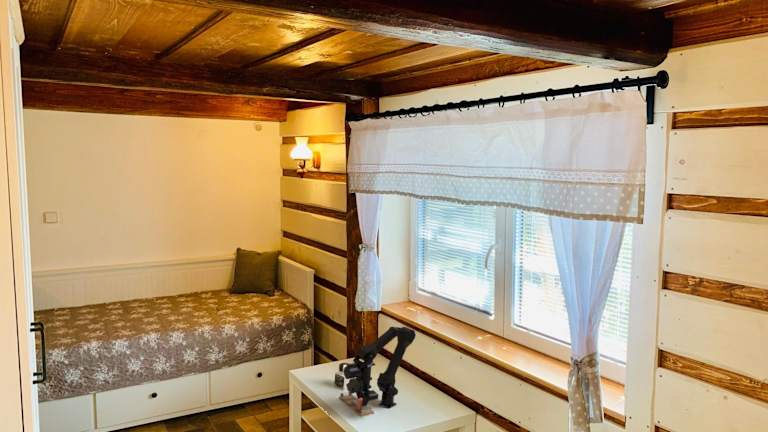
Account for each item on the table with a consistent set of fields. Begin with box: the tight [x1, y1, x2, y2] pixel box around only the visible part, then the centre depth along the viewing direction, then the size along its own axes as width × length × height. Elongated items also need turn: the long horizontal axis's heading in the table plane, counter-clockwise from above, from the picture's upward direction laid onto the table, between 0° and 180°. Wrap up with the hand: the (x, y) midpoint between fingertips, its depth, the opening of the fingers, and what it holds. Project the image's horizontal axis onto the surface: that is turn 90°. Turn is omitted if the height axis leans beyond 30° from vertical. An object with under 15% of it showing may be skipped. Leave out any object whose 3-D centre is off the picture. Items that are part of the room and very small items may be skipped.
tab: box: [351, 398, 363, 410], centre depth 267 cm, size 10×4×4 cm, turn 33°
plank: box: [338, 391, 375, 417], centre depth 269 cm, size 22×7×4 cm, turn 33°
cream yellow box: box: [334, 362, 353, 391], centre depth 292 cm, size 7×7×12 cm
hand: (361, 405), depth 265 cm, fingers open, 4 cm apart
